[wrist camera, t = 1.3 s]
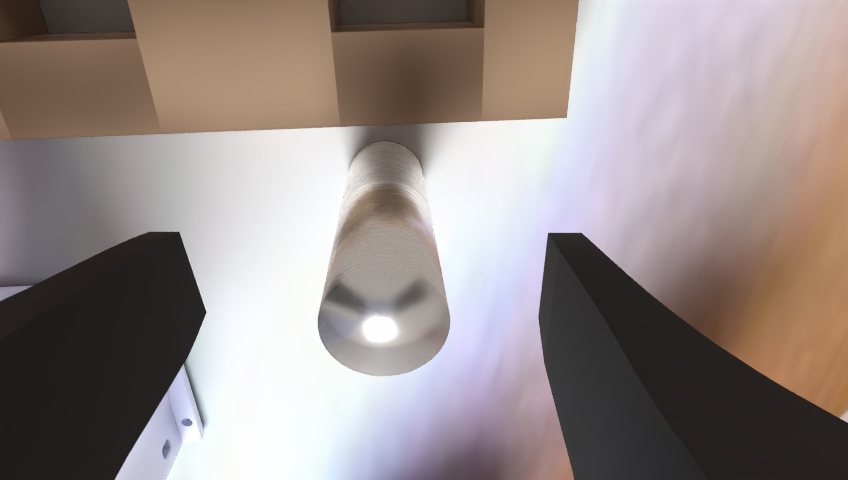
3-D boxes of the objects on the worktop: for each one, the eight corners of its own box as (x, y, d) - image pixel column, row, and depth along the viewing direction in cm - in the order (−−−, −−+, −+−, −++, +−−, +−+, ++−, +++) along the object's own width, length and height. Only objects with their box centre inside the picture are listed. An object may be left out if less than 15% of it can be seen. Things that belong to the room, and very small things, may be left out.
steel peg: (423, 210, 21) (450, 372, 12) (352, 213, 21) (325, 380, 12) (421, 140, 20) (449, 264, 11) (345, 143, 20) (309, 271, 11)
